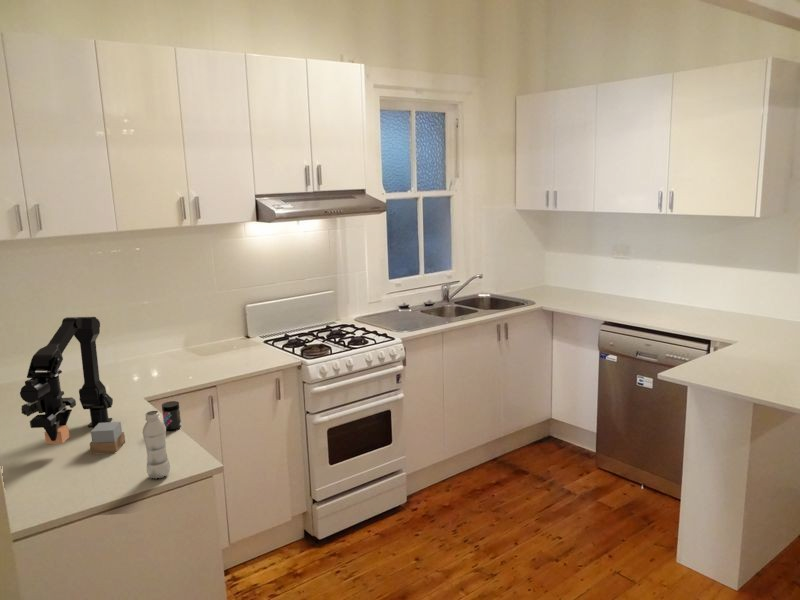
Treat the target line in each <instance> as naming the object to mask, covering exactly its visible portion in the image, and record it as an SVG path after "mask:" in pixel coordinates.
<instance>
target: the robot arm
mask: <svg viewBox="0 0 800 600" xmlns="http://www.w3.org/2000/svg"><path fill="white" fill-rule="evenodd" d="M100 328H101V322H100V320H99V319H98V318H97V317H96V316H77V317H76V316H73V317H69V316H67V317H64V318H63V319H62V321H61V324H60V326H59V327H58V329H57V331H55V333H54V335H53V337H52V338H51V339H50V340H49V342H48V344H47V345H45V346H44V347H41V348H40V349H38V350H37V351H36V352H35V353H34V354H33V355H32V358H31V360H30V364H29V368H28V371H27V375H26V378H27V380H25V381H24V385H23V386H22V387H21V389H20V392H19V396H20V398H21V399H22V401H24V402H25V403H24V404H22V405H21V408H20V410H21V414H22V415H24V416H26V417H29V416H31V415H34V414H35V413H37V412H38V414H37V415H35V416H34V417H32V419H31V420H30V421H29V427H30V429H35V428H36V429H37V428H40V429H41V428H43V429H44V431H46V432H47V434H48V436H49V437H50V439H51V441H55V440H56V437H57V432H58V427H59V426H62V425H68V424H67V423H68V421H69V417H70V416H71V413H72V411H73V410H72V409H73V408H75V407H76V406H77V402H76V399H75V398H74V397H63V396H64V395H65V391H64V390H61V380H60V374H62V373H63V371H62V370H61V369H60V367H61V365H62V362H63V360H64V358H63V352H64V351H65V349H66V348H67V347H68V345H69V343H70V342H71V340H72V339H73V337H74V338H75V339H76V340H77V341H78V343H79V345H80V346H79V347H80V354H81V356H80V357H81V364H82V374H83V375H82V376H83V385H81V388H79V390H78V394H79V402H80V404H81V407H82V409H83V410H89V415H90V421H91V422H90V423H89V424H88V425H87V427H88V428H92V427H94V428H95V426H96V425H97V424H98V423H106V422H112V421H113V418H112V417H109V412H108V409H110V408H112V406H113V403H114V402H113V401H114V400H113V397H111V396H110V395H109V394H108V393H107V388H106V386H105V385H104V384H103V382H102V381H101V379H100V371H99V363H98V362H99V361H98V351H97V344H96V343H97V342H96V341H97V339H98V337H99V336H100ZM68 406H69V408H70V409H69V408H68Z"/></svg>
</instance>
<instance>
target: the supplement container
mask: <svg viewBox="0 0 800 600" xmlns="http://www.w3.org/2000/svg"><path fill="white" fill-rule="evenodd" d="M161 410H162V411H161V412H162V420H163V421H162V422H163V423H164V425H165V427H166V430H167V431H166V432H175V431H177V430H176V429H178V430H180V429H181V428H182V419H181V418H182V417H181V409H180V402H179V401H178V400H177V401H176V400H174V401H173V400H172V401H166V402H163V403H162V404H161ZM174 430H175V431H174Z"/></svg>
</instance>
